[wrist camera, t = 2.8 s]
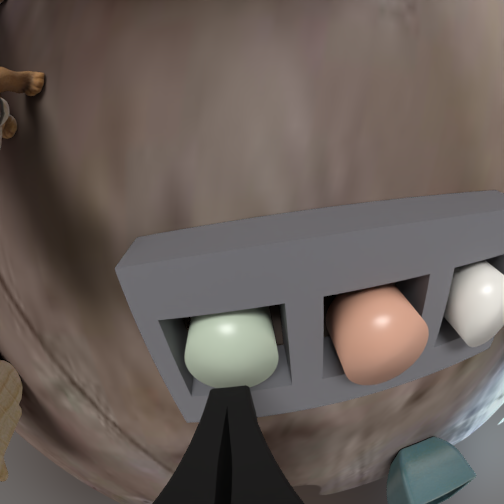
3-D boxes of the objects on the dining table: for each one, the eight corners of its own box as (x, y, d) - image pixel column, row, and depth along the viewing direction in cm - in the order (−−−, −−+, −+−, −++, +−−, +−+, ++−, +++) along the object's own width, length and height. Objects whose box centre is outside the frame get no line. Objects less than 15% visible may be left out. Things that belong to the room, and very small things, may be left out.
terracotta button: (404, 269, 13) (437, 305, 10) (394, 333, 14) (417, 371, 12) (325, 285, 13) (347, 328, 10) (325, 349, 14) (340, 394, 12)
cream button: (490, 249, 13) (524, 273, 10) (476, 306, 14) (502, 334, 12) (443, 261, 13) (478, 291, 10) (430, 322, 14) (456, 356, 12)
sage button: (265, 279, 14) (273, 318, 11) (274, 342, 15) (281, 383, 13) (182, 291, 14) (172, 332, 11) (201, 351, 16) (198, 393, 13)
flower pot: (388, 447, 24) (411, 510, 16) (451, 421, 24) (478, 475, 16) (374, 472, 28) (390, 524, 20) (429, 451, 28) (449, 498, 20)
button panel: (495, 190, 13) (530, 205, 10) (468, 323, 17) (489, 347, 14) (136, 237, 13) (114, 268, 10) (191, 384, 17) (187, 422, 14)
